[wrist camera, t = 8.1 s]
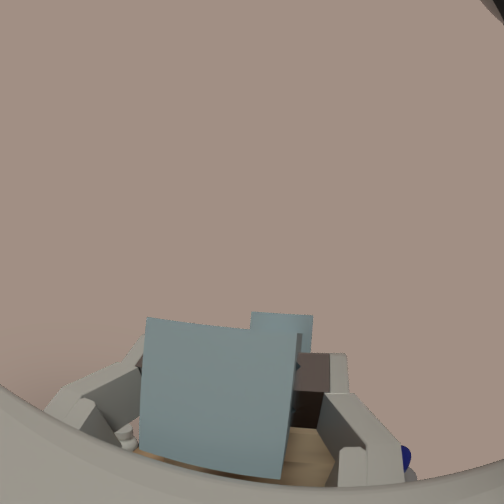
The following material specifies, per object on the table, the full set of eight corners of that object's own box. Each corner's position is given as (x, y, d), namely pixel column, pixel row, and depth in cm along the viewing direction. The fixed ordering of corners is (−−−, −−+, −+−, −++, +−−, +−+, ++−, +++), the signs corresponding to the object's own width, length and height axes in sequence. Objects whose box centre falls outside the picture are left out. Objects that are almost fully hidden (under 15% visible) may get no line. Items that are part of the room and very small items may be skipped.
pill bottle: (128, 461, 40) (124, 417, 41) (147, 475, 37) (143, 430, 38) (103, 468, 35) (97, 422, 36) (121, 484, 32) (115, 437, 33)
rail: (307, 369, 27) (311, 318, 28) (313, 481, 5) (336, 264, 6) (255, 365, 28) (260, 315, 29) (114, 440, 6) (130, 254, 7)
